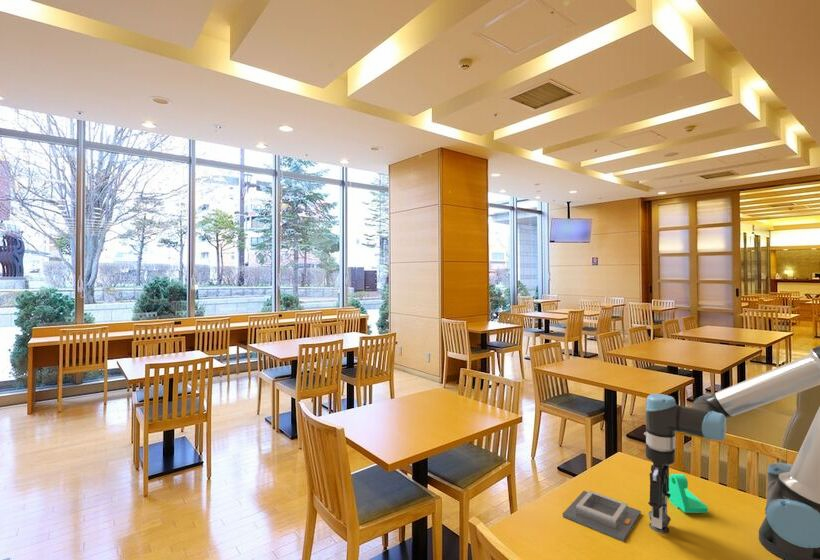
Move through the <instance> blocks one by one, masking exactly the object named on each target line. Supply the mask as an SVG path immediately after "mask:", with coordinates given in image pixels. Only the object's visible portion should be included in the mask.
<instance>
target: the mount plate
mask: <svg viewBox="0 0 820 560" xmlns="http://www.w3.org/2000/svg"><path fill="white" fill-rule="evenodd" d="M641 515H642V511H641V510H639V509H637V508H633V507H631V506H629V504H628V503H626V502H624V501H622V500H621V501H620V500H618V499H616V498H612V497H609V496H607V495H604V494H601V493H598V492H595V491H592V490H589V491H586V490H583V491H582V492H581V493H580V494H579V495H578V496H577V497H576V499H575V500H574V501H573V502H572V503H571V504H570V505H569V506H568V507H567V508H566V509H565V511H563V513H562V517H563V518H565V519H567V520H570V521H572V522H575V523H578V524H580V525H582V526H585V527H587V528H589V529H592V530H594V531H597V532H600V533H602V534H604V535H606V536H609V537H611V538H614V539H617V540H619V541H621V542H625V541H626V539H627V537H628V536H629V534H630V532H631V531H632V529H633V527H634V526H635V524H636V523H637V521H638V520H639V518H640V516H641Z"/></svg>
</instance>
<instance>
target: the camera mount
mask: <svg viewBox="0 0 820 560" xmlns="http://www.w3.org/2000/svg"><path fill="white" fill-rule="evenodd" d="M688 486H689V483H688V479H687V477H686V476H685V474H684V473H671V474H669V492H668V493H669V494H671V495H670V497H668V498H669V502H670V503H671V504H672V505H673V506H674V507H676V509H678V510H681V511H682V512H683V513H686V514H687V513H689V514H691V513H692V514H693V513H694V514H707V513H708V512H709V510H708V509H709V507H708V506H707V505H706V504H705V503H704V502H703V501H701V500H700V499H699V498H698V497H697V496H696V495H695V494H694V493H692V492H691V491H690V490H689V489H688Z"/></svg>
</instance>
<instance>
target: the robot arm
mask: <svg viewBox="0 0 820 560" xmlns="http://www.w3.org/2000/svg"><path fill="white" fill-rule="evenodd" d="M817 386H820V345H818V346H816V347H813V348H811V349H810V351H809V354H807V355H806V356H803V357H800V358H798V359H795V360H792V361H790V362H788V363H785V364H783V365H781V366H778V367H775V368H773V369H770V370H768V371H765V372H763V373H760V374H758V375H756V376H755V375H754V376H753V377H750V378H748V379H746V380H743V381H741V382H738V383H736V384H733V385H730V386H728V387H726V388H723V389H721V390H719V391H716V392H714V393H711V394H709V395H707V394H706V395H705V394H704V395H701V396H699V397H696V398H695V400H694V401H693V402H692V405H691V406H690V407H689V406H683V405H680V404H677V403H676V399H675V397H673V396H671V395H667V394H663V393H651V394H649V395H648V396H647V397H646V405H645V406H646V407H645V431H644V433H643V435H644V436H645V443H646V444H645V456H646V458H647V460H649V461H651V462H652V463H653V464H651V466H650V472H649V501H647V504H648V505H649V506H650V507H651V510H650V511H651V520H650V523H651V526H654V527H657V528H659V529H662V505H661V503H662V493H664V495H665V504H666V507H665V513H666V514H667V515H668V498H669V497H670V495H671V494H669V493H668V492H669V477H670V465H671V464H674V463H675V461H676V460H675V459H676V458H675V455H676V454H675V452H676V451H675V449H676V432H678V433H682V434H686V435H691V436H695V437H701V438H704V439H707V440H714V441H721V442H722V441H724V440H725V439H726V433H727V419H729V418H732V417H734V416H737V415H741V414H742V413H746V412H749V411H751V410H754V409H757V408H759V407H762V406H765V405H767V404H770V403H773V402H776V401H779V400H782V399H784V398H787V397H789V396H793V395H795V394H796V395H797V394H798V393H801V392H804V391H806V390H810V389H812V388H815V387H817ZM799 448H800V449H799V451H798V453H797V456H796V457H795V459H794V462H793V464H791V463H790V464H789V463H784V462H771V463H770V464H769V465H768V466H767V471H766V473H767V488H766V489H767V490H766V502H765V504H766V506H765V508H764V510H765V513H764V514H765V517H764V519H763V521H762V523H761V525H760V527H759V529H758V540H759V543H760V545H762V547H764V549H766V550H767V551H768V552H770V553H771V554H773V555H774V556H777V557H779V558H780V559H782V560H784V559H785V560H820V406H819V407H818V409H817V412H816V413H815V416H814V418H813V420H812V421H811V425H810V426H809V429H808V431H807V433H806V435H805V437H804V440H803V441H802V444H801V446H800V447H799Z"/></svg>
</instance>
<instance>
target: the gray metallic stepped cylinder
mask: <svg viewBox="0 0 820 560" xmlns="http://www.w3.org/2000/svg"><path fill="white" fill-rule="evenodd" d="M661 505H662V529H659V528H657V527H654V526H651V522H650V523H649V524H648V525H649V528H650V529H651V530H653V531H654V532H657V533H659V534H668V533H670V528H669V525H670V522H671V521H672V520H671V519H672V518H671V517H670V516H669V514H668V513H667V514H666V513H665V507H666V504H665V495H664V493H662V503H661ZM647 515H648V517H649V520H650V521H651V510H650V511H648V514H647Z"/></svg>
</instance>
